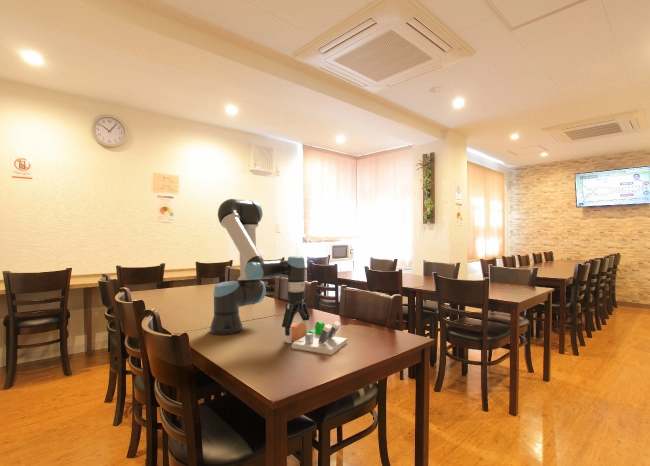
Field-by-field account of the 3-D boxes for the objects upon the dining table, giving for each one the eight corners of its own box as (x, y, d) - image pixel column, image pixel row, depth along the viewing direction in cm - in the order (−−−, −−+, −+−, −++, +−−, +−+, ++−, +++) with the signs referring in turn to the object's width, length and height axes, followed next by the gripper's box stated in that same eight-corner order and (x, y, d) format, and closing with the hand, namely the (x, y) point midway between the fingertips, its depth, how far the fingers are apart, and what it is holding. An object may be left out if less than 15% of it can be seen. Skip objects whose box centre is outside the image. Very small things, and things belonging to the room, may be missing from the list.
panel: (291, 348, 139) (291, 343, 139) (310, 337, 154) (310, 332, 154) (330, 355, 131) (330, 349, 131) (347, 343, 146) (347, 337, 146)
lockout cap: (286, 339, 151) (286, 326, 151) (293, 335, 157) (293, 322, 157) (298, 341, 149) (298, 327, 149) (306, 337, 154) (305, 324, 154)
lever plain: (324, 338, 143) (333, 323, 141) (329, 335, 147) (337, 320, 145) (328, 341, 142) (337, 326, 141) (332, 338, 146) (341, 323, 145)
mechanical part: (333, 339, 153) (332, 321, 153) (321, 341, 150) (321, 323, 150) (319, 332, 163) (319, 315, 163) (308, 334, 160) (308, 317, 160)
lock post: (305, 342, 140) (305, 334, 140) (308, 341, 142) (308, 332, 142) (310, 343, 139) (310, 335, 139) (313, 342, 141) (313, 333, 141)
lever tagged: (317, 343, 137) (323, 326, 135) (321, 340, 141) (328, 323, 139) (321, 346, 136) (328, 328, 135) (326, 342, 140) (332, 326, 139)
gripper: (288, 295, 140) (288, 347, 140) (316, 287, 162) (316, 332, 162) (273, 294, 143) (273, 345, 143) (302, 286, 166) (303, 330, 166)
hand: (296, 338), depth 153 cm, fingers open, 13 cm apart
